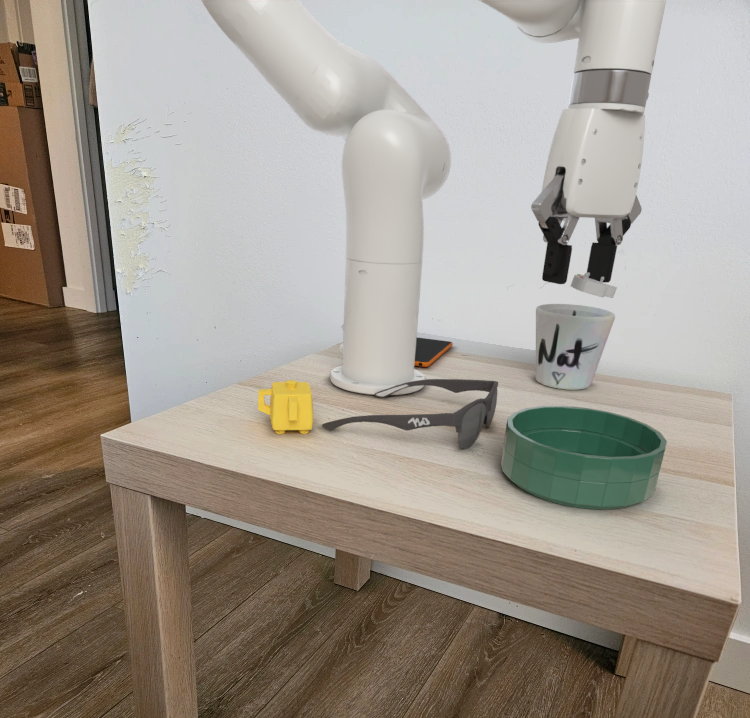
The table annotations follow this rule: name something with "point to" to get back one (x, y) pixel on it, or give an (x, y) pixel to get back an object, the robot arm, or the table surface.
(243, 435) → the table surface
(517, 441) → the bowl
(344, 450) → the table surface
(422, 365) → the smartphone
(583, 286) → the game controller
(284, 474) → the table surface
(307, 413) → the teapot
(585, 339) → the mug
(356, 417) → the sunglasses
